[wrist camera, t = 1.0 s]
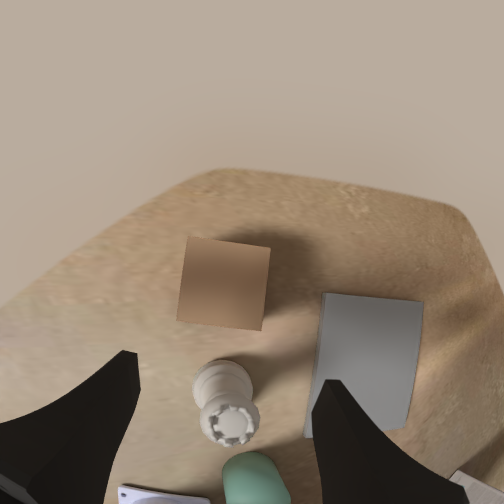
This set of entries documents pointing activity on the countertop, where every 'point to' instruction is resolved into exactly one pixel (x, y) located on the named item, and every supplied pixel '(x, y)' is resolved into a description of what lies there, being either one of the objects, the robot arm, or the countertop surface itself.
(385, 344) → the slate plate
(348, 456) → the robot arm
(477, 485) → the ink cartridge box
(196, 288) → the walnut block
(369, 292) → the countertop surface
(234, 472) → the green cylinder
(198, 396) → the rook chess piece
